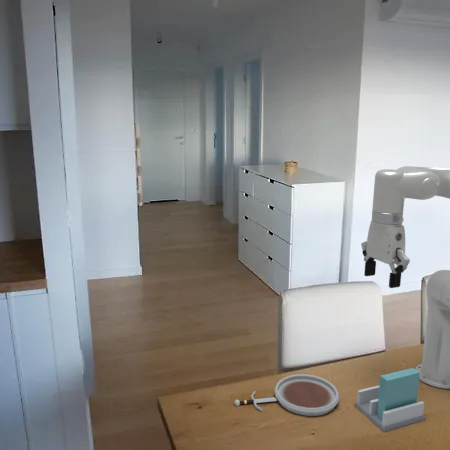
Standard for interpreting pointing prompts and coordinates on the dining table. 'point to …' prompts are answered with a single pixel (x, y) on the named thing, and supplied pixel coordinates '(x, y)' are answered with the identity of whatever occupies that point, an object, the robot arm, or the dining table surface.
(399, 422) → the dish rack
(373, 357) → the dining table surface
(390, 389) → the teal upright slab
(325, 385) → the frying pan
